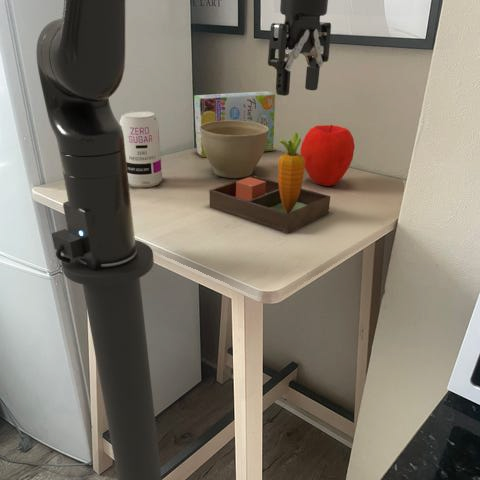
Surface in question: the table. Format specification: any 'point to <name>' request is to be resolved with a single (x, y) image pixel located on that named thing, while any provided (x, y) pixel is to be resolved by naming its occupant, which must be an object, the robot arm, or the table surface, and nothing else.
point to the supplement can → (142, 148)
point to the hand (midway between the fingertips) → (297, 92)
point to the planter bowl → (233, 146)
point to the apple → (327, 153)
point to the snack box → (235, 112)
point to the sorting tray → (271, 206)
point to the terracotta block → (250, 188)
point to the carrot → (290, 173)
